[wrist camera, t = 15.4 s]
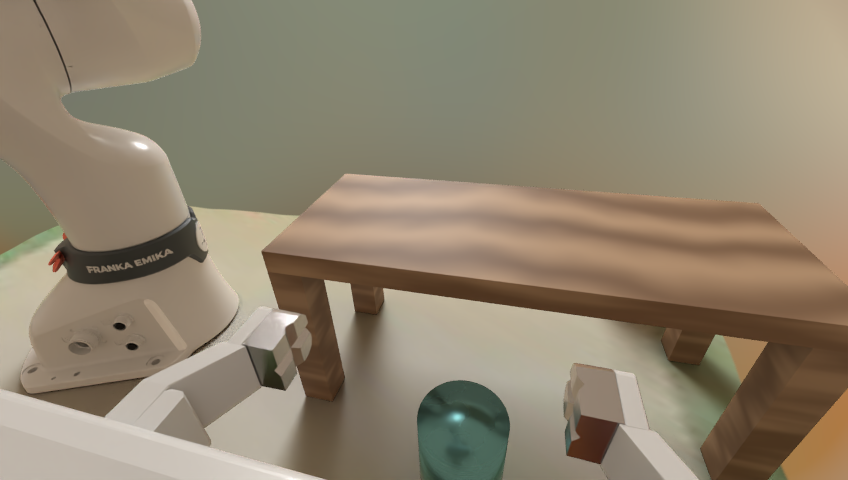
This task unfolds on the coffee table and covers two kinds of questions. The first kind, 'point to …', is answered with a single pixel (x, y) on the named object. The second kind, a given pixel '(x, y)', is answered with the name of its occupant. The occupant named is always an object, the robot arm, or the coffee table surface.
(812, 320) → the low shelf
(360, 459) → the coffee table surface
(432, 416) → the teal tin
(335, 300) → the coffee table surface
